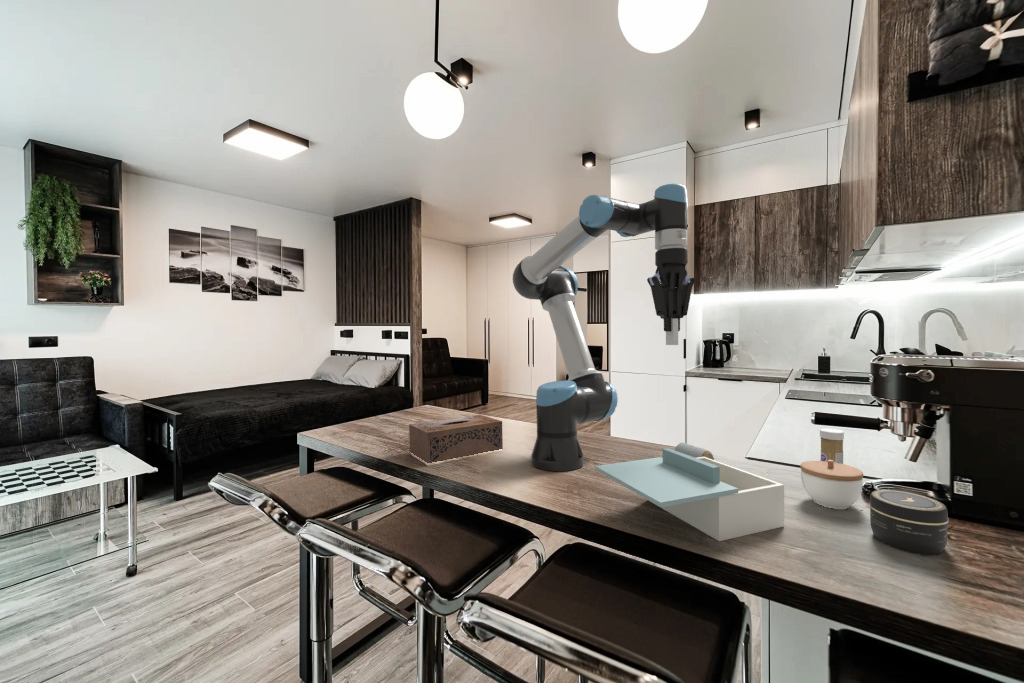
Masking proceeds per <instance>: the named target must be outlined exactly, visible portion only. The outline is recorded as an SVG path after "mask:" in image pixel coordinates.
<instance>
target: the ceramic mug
mask: <svg viewBox="0 0 1024 683" xmlns="http://www.w3.org/2000/svg"><path fill="white" fill-rule="evenodd" d="M674 450H675V451H678V452H681V453H683V454H686V455H689V456H691V457H694V458H697V457H707V458H710V459H712V460H715V458H714V455H713V453H712V452H711V451H710V450H708V449H705V448H702V447H700V446H699V447H698V446H695V445H692V444H689V443H686V442H680V443H678V444H677V445H676V446H675V448H674Z"/></svg>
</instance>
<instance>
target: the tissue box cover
mask: <svg viewBox="0 0 1024 683" xmlns="http://www.w3.org/2000/svg"><path fill="white" fill-rule="evenodd" d="M408 429H409V431H408V432H409V453H410V452H411V453H413V454H414V455H416V456H417V457H419V458H421V459H422V460H424V461H425V462H427V463H432V462H437V461H443V460H447V459H453V458H458V457H463V456H469V455H474V454H478V453H483V452H488V451H494V450H499V449H503V444H504V443H503V420H500V419H496V418H493V417H490V416H487V415H483V414H474V415H469V416H467V415H466V416H460V417H459V416H458V417H452V418H446V419H445V418H444V419H439V420H431V421H424V422H417V423H416V422H415V423H409V424H408ZM503 450H504V449H503Z"/></svg>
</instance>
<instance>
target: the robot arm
mask: <svg viewBox="0 0 1024 683" xmlns="http://www.w3.org/2000/svg"><path fill="white" fill-rule="evenodd" d="M688 205H689V202H688V192H687V187H686V186H685V185H684V184H680V183H668V184H667V183H666V184H663V185H659V187H657V188H656V189H655V190H654V196H653V199H651V200H648V201H646V202H642V203H635V202H629V201H625V200H621V199H617V198H613V197H609V196H606V195H598V194H591V195H588V196H586V197H585V198H584V199H583V200H582V204H581V205H580V207H579V210H578V215H577V216H576V217H575V218H574V219H572V221H571V222H569V223H568V224H567V225H566V226H565V227H564V228H563V229H561V230H560V231H559V232H558V233H557V234H556V235H555V236H553V237H552V238H551V239H549V241H547V242H546V243H545V244H544V245H543V246H542V247H541V248H540V249H538V250H537V251H536V252H535V253H533V254H532V255H526V256H525V257H524V258H523V259H522V260H520V261H519V263H518V264H517V265H516V267H515V268H514V271H513V273H512V283H513V287H514V290H515V291H516V292H517V294H519V295H520V296H521V297H523V298H525V299H528V300H539V301H540V304H541V308H542V310H544V311H546V312H548V314H549V317H550V320H551V324H552V327H553V331H554V333H555V336H556V340H557V343H558V346H559V349H560V353H561V356H562V360H563V362H564V366H565V368H566V371H567V375H568V379H567V380H558V381H557V380H554V381H549V382H546V383H543V384H541V385H539V386H538V388H537V390H536V396H535V397H536V399H535V405H536V439H535V442H534V446H533V449H532V451H531V455H530V456H531V457H530V458H531V461H530V462H531V465H532V466H533V465H534V466H533V467H535V468H537V469H540V470H544V471H551V472H552V471H553V472H567V471H574V470H577V469H580V468H582V467H583V466H584V465H583V464H585V463H584V462H585V461H584V460H585V458H584V454H583V451H582V447H581V445H580V442H579V438H578V425H581V424H585V423H590V422H591V423H592V422H600V421H602V420H605V419H608V418H610V417H611V416H612V415H614V413H615V412H616V408H617V407H618V401H619V399H618V398H619V397H618V392H617V389H616V388H615V386H614V385H613V384H611V383H610V382H608V381H607V380H606V381H605V379H604V376H603V374H602V372H601V371H599V370H597V369H596V368H595V365H594V362H593V359H592V355H591V353H590V350H589V347H588V344H587V341H586V338H585V336H584V335H585V334H584V333H583V329H582V326H581V324H580V320H579V317H578V314H577V311H576V308H575V306H574V303H575V301H576V300H577V299H576V298H577V297H576V295H577V294H578V290H579V289H578V287H579V282H578V277H577V275H576V274H575V273H574V271H573V270H572V269H570V268H568V267H565V266H562V265H563V264H565V263H566V262H567V261H569V260H570V259H571V258H572V257H574V256H575V255H576V254H578V252H580V251H582V250H583V249H584V248H586V246H588V245H589V244H590V243H591V242H593V241H595V239H597V238H598V237H599V236H601V235H602V234H604V233H605V232H607V231H614V232H616V233H617V234H619V236H621V237H623V238H628V237H632V238H633V237H636V236H638V235H642V234H646V233H650V232H653V231H654V249H655V250H656V251H655V252H654V254H655V255H654V256H655V257H654V258H655V262H654V264H655V266H656V270H655V274H654V275H653V276H650V277H648V278H647V279H646V281H647V283H648V285H649V287H650V291H651V295H652V298H653V304H654V309H655V314H656V316H657V317H660V319H662V320H663V331H664V332H665V345H666V346H678V345H679V332H680V330H681V319H683V318H684V316H685V317H686V316H687V315H688V312H689V305H690V302H691V294H692V290H693V287H694V285H695V282H696V278H695V277H691V276H689V275H688V270H687V268H686V267H687V264H688V263H689V262H688V261H689V259H688V258H689V257H688V256H689V255H688V254H689V250H688V249H687V247H688ZM582 465H583V466H582ZM581 466H582V467H581Z"/></svg>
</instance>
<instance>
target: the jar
mask: <svg viewBox="0 0 1024 683" xmlns="http://www.w3.org/2000/svg"><path fill="white" fill-rule="evenodd" d="M869 495H870V496H869V514H870V517H869V519H870V520H869V521H870V523H869V524H870V528H871V531H872V533H873V535H874V537H875V538H876V539H877V540H878V541H880V543H883V544H885V545H887V546H889V545H890V546H889V547H890V548H894V549H896V548H897V550H899V549H900V551H903V550H904V552H906V551H908V552H907V553H911V554H916V553H917V555H922V554H926V555H925V556H935V555H934V554H936V555H940V554H941V553H943V552H945V548H947V547H946V546H947V545H948V523H949V520H950V519H949V517H948V515H949V514H948V513H949V512H948V508H947V506H946V505H945V504H944V503H942V502H941V501H938V500H936V499H935V498H932V497H928V496H925V495H922V494H917V493H914V492H910V491H909V492H907V491H904V490H903V491H902V490H895V489H893V490H892V489H878V490H874V491H872V492H870V494H869ZM939 553H940V554H939Z"/></svg>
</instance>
